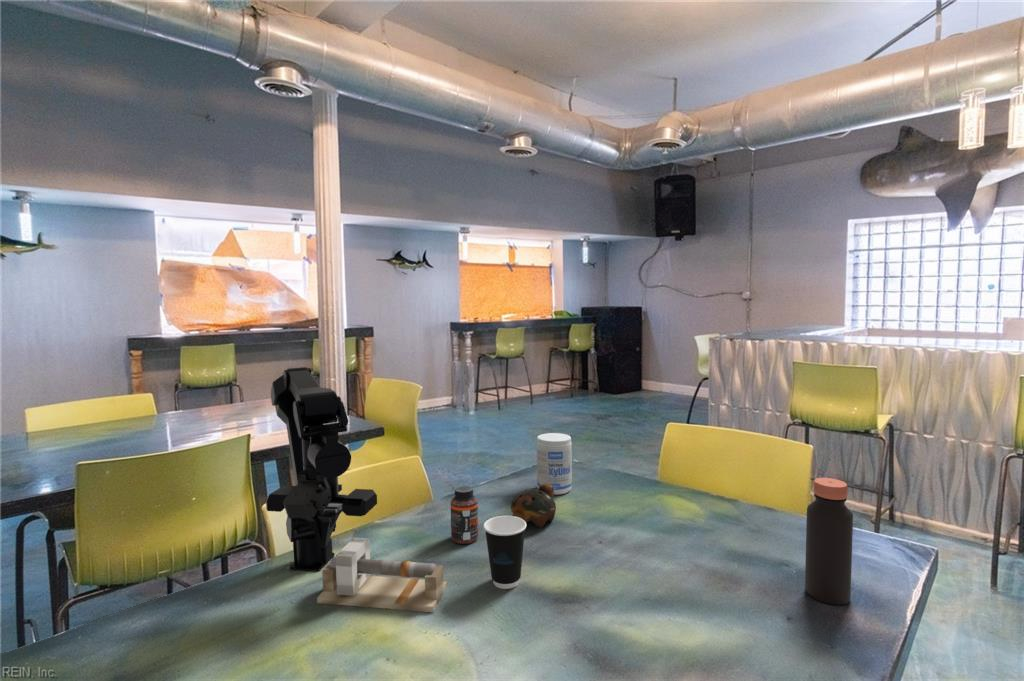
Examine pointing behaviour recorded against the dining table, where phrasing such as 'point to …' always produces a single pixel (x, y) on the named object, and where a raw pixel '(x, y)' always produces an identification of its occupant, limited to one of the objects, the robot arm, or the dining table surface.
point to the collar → (351, 566)
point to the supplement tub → (554, 461)
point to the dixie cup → (505, 549)
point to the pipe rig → (389, 585)
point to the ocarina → (535, 505)
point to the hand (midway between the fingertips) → (324, 545)
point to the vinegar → (829, 543)
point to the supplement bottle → (464, 516)
